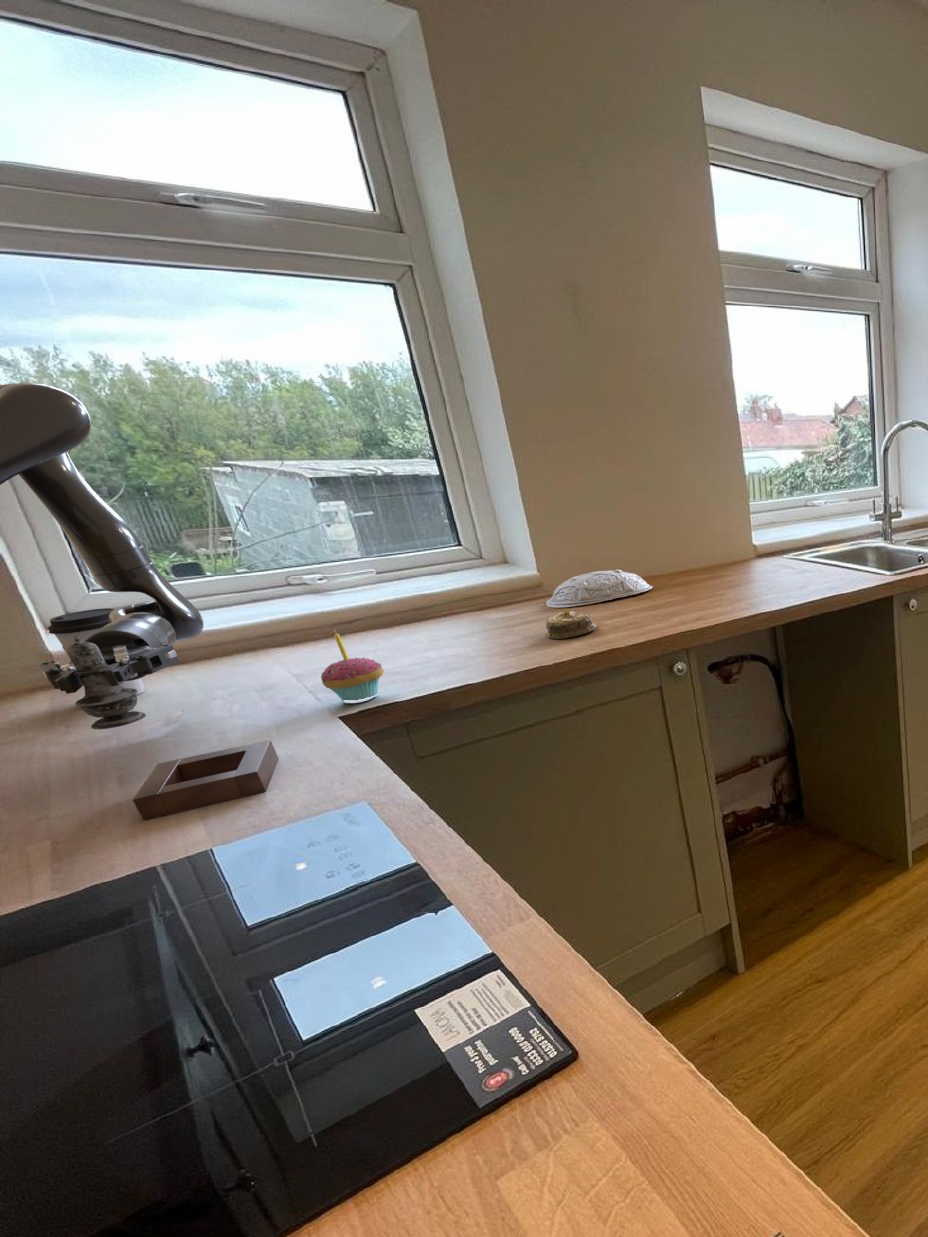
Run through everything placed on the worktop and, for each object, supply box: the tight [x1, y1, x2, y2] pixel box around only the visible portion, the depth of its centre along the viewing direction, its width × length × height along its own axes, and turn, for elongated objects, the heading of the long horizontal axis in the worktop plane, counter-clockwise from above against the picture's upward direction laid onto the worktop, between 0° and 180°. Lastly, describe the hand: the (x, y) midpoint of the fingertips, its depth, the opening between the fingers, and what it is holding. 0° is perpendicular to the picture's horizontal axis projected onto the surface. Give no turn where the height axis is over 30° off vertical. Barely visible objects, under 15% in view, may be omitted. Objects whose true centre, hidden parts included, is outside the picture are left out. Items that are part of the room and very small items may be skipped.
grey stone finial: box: [67, 636, 147, 730], centre depth 101 cm, size 6×6×12 cm
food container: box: [545, 569, 653, 609], centre depth 189 cm, size 16×25×7 cm, turn 125°
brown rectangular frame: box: [132, 739, 279, 821], centre depth 102 cm, size 12×12×3 cm
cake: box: [545, 607, 597, 640], centre depth 161 cm, size 10×10×5 cm
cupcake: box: [320, 629, 385, 701], centre depth 128 cm, size 9×8×12 cm
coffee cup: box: [47, 607, 145, 696], centre depth 135 cm, size 9×9×15 cm
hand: (89, 682), depth 98 cm, fingers closed on grey stone finial, 3 cm apart
